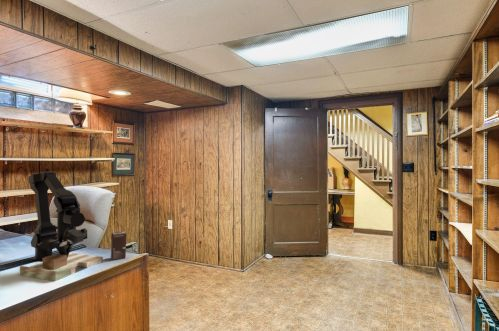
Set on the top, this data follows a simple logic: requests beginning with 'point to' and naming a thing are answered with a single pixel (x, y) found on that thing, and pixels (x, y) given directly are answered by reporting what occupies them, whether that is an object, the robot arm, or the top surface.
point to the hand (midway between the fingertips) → (65, 260)
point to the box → (118, 245)
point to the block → (54, 261)
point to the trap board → (73, 265)
